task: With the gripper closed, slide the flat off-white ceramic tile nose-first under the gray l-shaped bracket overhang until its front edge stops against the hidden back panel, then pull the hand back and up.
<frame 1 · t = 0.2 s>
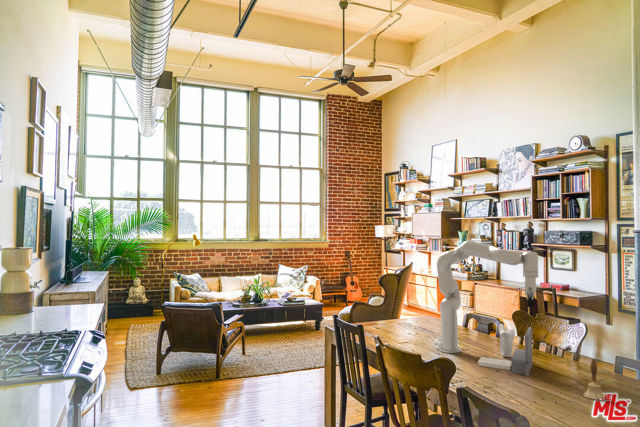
hand: (531, 305, 233), 31 cm above the table, tool pointing down, fingers open, 9 cm apart
ceramic tile: (495, 366, 228), on the table
gray l-shaped bracket: (522, 369, 222), on the table
hand bell: (594, 397, 185), on the table
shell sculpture: (506, 356, 244), on the table
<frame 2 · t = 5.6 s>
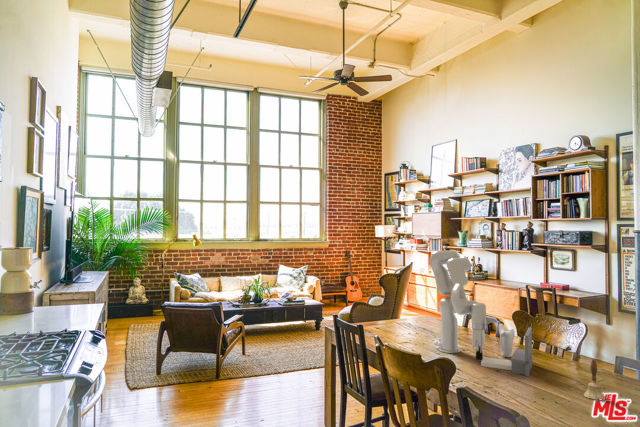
hand: (479, 359, 232), 2 cm above the table, tool pointing down, fingers closed
ceramic tile: (498, 366, 228), on the table, touching gripper
everything else where it was.
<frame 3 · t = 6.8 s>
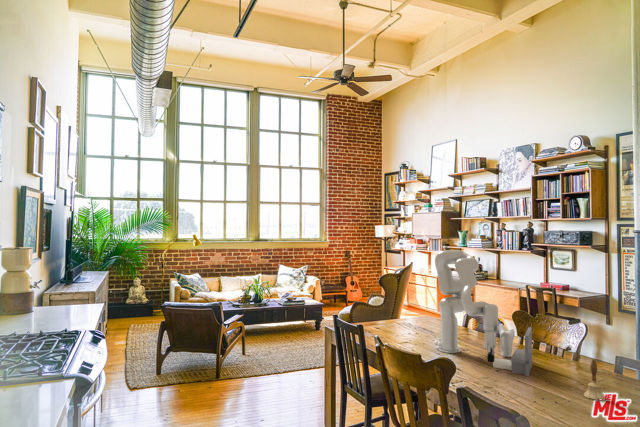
hand: (490, 361, 229), 1 cm above the table, tool pointing down, fingers closed
ceramic tile: (510, 367, 225), on the table, touching gray l-shaped bracket
everything else where it was.
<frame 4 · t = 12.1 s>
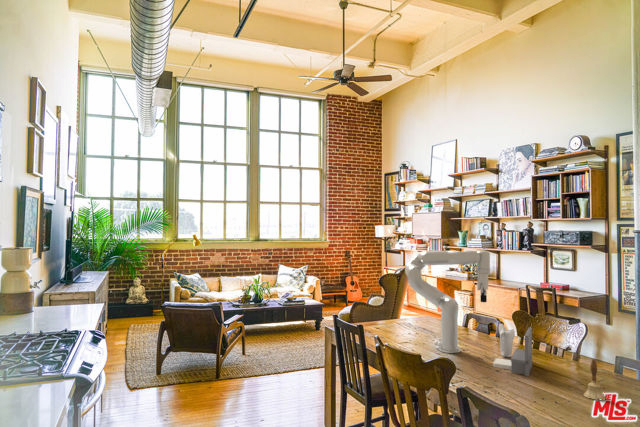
hand: (483, 301, 256), 29 cm above the table, tool pointing down, fingers closed
ceramic tile: (510, 367, 226), on the table
everything else where it was.
at the end: ceramic tile 1.5 cm from the target spot on the table beside the gray l-shaped bracket, on the table; ceramic tile tilted 0°; the gripper is holding nothing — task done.
